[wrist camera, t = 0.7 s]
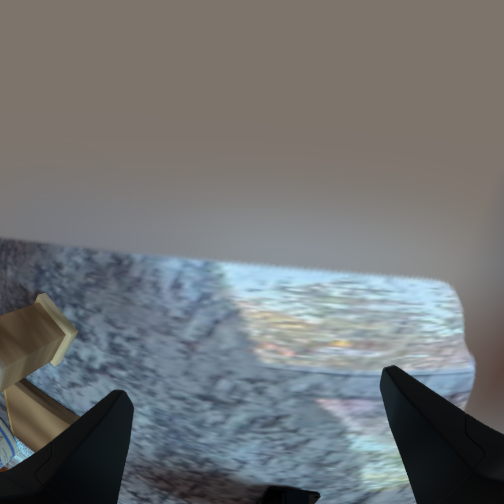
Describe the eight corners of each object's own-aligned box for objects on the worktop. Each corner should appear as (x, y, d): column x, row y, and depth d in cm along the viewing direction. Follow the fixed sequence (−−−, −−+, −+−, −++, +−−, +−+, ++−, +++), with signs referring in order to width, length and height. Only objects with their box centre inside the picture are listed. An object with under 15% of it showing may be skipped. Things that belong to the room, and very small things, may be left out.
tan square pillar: (78, 331, 24) (-15, 382, 11) (60, 362, 24) (-20, 415, 11) (45, 292, 24) (-52, 321, 11) (29, 326, 24) (-54, 362, 11)
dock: (86, 471, 26) (79, 482, 23) (21, 427, 26) (12, 434, 23) (86, 417, 25) (76, 428, 22) (13, 366, 25) (1, 373, 22)
